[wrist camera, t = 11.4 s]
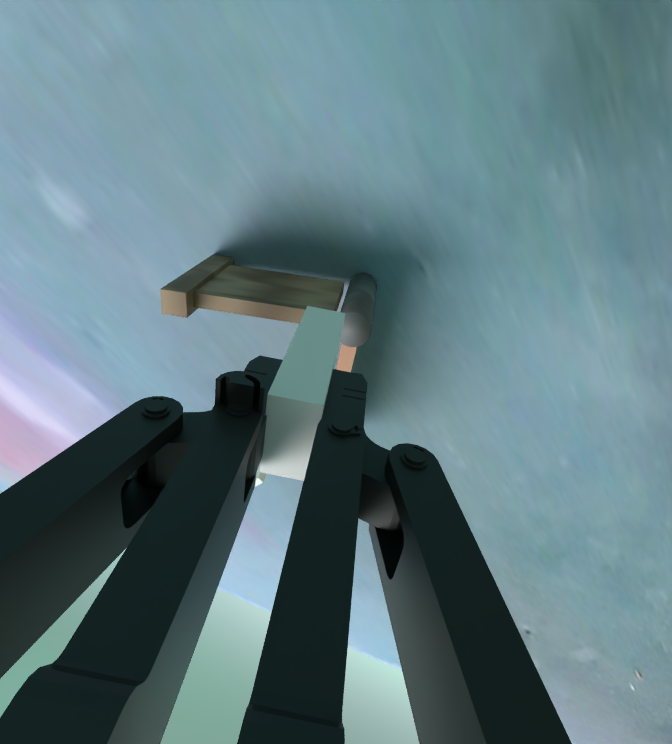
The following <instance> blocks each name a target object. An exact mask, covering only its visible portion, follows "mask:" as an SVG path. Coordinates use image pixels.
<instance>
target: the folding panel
mask: <svg viewBox="0 0 672 744" xmlns="http://www.w3.org/2000/svg"><path fill="white" fill-rule="evenodd" d="M356 349H357V347H348V346H345V345H344V344H342V346H341V350H340V354H339V359H338V363H337V368H336V370H341V371H347V372H351V369H352V365H353V361H354V357H355V353H356Z"/></svg>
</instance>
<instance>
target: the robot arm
mask: <svg viewBox="0 0 672 744" xmlns="http://www.w3.org/2000/svg"><path fill="white" fill-rule="evenodd" d="M344 317H345V313H342V312H337V311H332V310H327V309H321V308H316V307H311V306H307V308H306V310H305V312H304V315H303V317H302V319H301V321H300V323H299V326H298V328H297V330H296V332H295V335H294V337H293V339H292V341H291V343H290V346H289V348H288V350H287V352H286V355H285V357H284V359H283V360H280V359H275V358H269V357H264V356H258V357H256V358H255V359H253V360H251V361H250V362H249V363H248V365H247V367H246V368H245V371H233V372H227V373H224V374H222V375H220V376H219V377H218V378H217V379H216V390H215V405H214V407H213V409H212V410H210V411H206V412H183V407H182V405H181V404H180V403H179V402H178V401H176V400H174V399H173V398H168V397H164V396H153V397H148V398H144V399H141V400H139V401H137V402H135V403H134V404H132V405H131V406H129V407H128V408H126V409H125V410H123V411H122V412H120V413H119V414H117V415H116V416H114V417H113V418H112V419H110V420H109V421H107V422H106V423H104V424H103V425H101V426H100V427H98V428H97V429H95V430H94V431H92V432H91V433H89V434H88V435H86V436H85V437H83V438H82V439H81V440H79V441H78V442H76V443H75V444H73V445H72V446H70V447H69V448H67V449H66V450H64V451H63V452H61V453H60V454H58V455H57V456H55V457H54V458H52V459H51V460H50V461H48V462H47V463H45V464H44V465H42V466H41V467H39V468H38V469H36V470H35V471H33V472H32V473H30V474H29V475H27V476H26V477H24V478H23V479H21V480H20V481H19V482H17V483H16V484H14V485H13V486H11V487H10V488H8V489H7V490H5V491H4V492H2V493H1V494H0V678H1V677H2V676H3V675H4V674H5V673H6V672H7V671H8V670H9V669H10V668H11V667H12V666H13V665H14V663H16V662H17V660H19V659H20V658H21V657H22V655H23V654H24V653H25V652H26V651H27V650H28V649H29V648H30V647H31V646H32V645H33V644H34V643H35V642H36V641H37V640H38V639H39V638H40V637H41V636H42V635H43V633H45V632H46V631H47V629H48V628H49V627H50V626H51V625H52V624H53V623H54V622H55V621H56V620H57V619H58V618H59V617H60V616H61V615H62V614H63V613H64V612H65V611H66V610H67V609H68V608H69V607H70V606H71V605H72V604H73V603H74V602H75V600H76V599H77V598H78V597H79V596H80V595H81V594H82V593H83V592H84V591H85V590H86V589H87V588H88V587H89V586H90V585H91V584H92V583H93V582H94V581H95V580H96V579H97V578H98V577H99V575H100V574H102V572H103V571H104V570H105V569H106V568H107V567H108V566H109V565H110V564H111V563H112V562H113V561H114V560H115V559H116V558H117V557H118V556H119V555H120V554H121V553H122V552H123V551H124V550H125V549H126V548H127V549H126V550H125V552H124V554H123V555H122V557H121V558H120V560H119V562H118V563H117V565H116V567H115V568H114V570H113V572H112V573H111V575H110V576H109V578H108V579H107V581H106V583H105V584H104V586H103V588H102V589H101V591H100V592H99V594H98V596H97V598H96V599H95V601H94V602H93V604H92V605H91V607H90V609H89V610H88V612H87V614H86V615H85V617H84V619H83V620H82V622H81V624H80V625H79V627H78V628H77V630H76V632H75V633H74V635H73V636H72V638H71V640H70V641H69V643H68V644H67V646H66V648H65V649H64V651H63V652H62V654H61V655H60V656H59V658H58V659H57V660H56V661H55V662H53V663H52V664H49V665H46V666H43V667H40V668H38V669H37V670H36V671H35V672H34V673H33V674H31V675H30V676H29V677H28V679H27V680H26V681H25V683H24V684H23V685H22V687H21V688H20V689H19V691H18V692H17V693H16V695H15V696H14V698H13V699H12V701H11V703H10V704H9V706H8V707H7V709H6V710H5V712H4V713H3V715H2V716H1V718H0V744H160V742H161V740H162V737H163V734H164V731H165V729H166V726H167V723H168V721H169V718H170V715H171V713H172V710H173V707H174V704H175V702H176V699H177V696H178V693H179V690H180V688H181V685H182V683H183V680H184V677H185V674H186V671H187V669H188V666H189V663H190V661H191V658H192V655H193V653H194V650H195V647H196V644H197V642H198V639H199V636H200V634H201V631H202V628H203V626H204V623H205V620H206V617H207V614H208V612H209V609H210V606H211V604H212V601H213V598H214V596H215V593H216V590H217V587H218V585H219V582H220V579H221V577H222V574H223V571H224V568H225V566H226V563H227V560H228V558H229V555H230V552H231V549H232V547H233V544H234V541H235V539H236V536H237V533H238V530H239V528H240V525H241V522H242V519H243V517H244V514H245V511H246V509H247V506H248V503H249V500H250V498H251V495H252V492H253V490H254V487H255V482H256V472H257V469H258V467H259V464H260V472H262V473H267V474H272V475H277V476H282V477H287V478H292V479H297V480H302V481H304V482H303V486H302V491H301V495H300V499H299V503H298V507H297V511H296V515H295V519H294V523H293V527H292V531H291V536H290V540H289V544H288V548H287V552H286V556H285V560H284V564H283V568H282V572H281V576H280V581H279V585H278V589H277V593H276V597H275V601H274V605H273V609H272V613H271V617H270V621H269V626H268V630H267V634H266V638H265V642H264V646H263V650H262V654H261V658H260V662H259V666H258V671H257V675H256V679H255V683H254V687H253V691H252V695H251V698H250V702H249V705H248V707H247V709H246V712H245V716H244V719H243V723H242V727H241V731H240V735H239V739H238V743H237V744H344V742H345V739H344V727H343V724H342V705H343V693H344V681H345V669H346V657H347V646H348V634H349V622H350V610H351V598H352V586H353V574H354V562H355V550H356V538H357V526H358V518H359V519H361V520H363V521H365V522H367V523H369V532H370V536H371V540H372V545H373V549H374V553H375V557H376V561H377V566H378V570H379V574H380V578H381V583H382V587H383V591H384V595H385V599H386V604H387V608H388V612H389V616H390V621H391V625H392V629H393V633H394V637H395V642H396V646H397V650H398V654H399V659H400V663H401V667H402V671H403V675H404V680H405V684H406V688H407V692H408V697H409V701H410V705H411V709H412V713H413V718H414V722H415V726H416V730H417V734H418V739H419V743H420V744H572V743H571V741H570V739H569V737H568V735H567V733H566V731H565V728H564V726H563V724H562V722H561V720H560V718H559V716H558V714H557V712H556V709H555V707H554V705H553V703H552V701H551V699H550V697H549V695H548V693H547V690H546V688H545V686H544V684H543V682H542V680H541V678H540V676H539V674H538V671H537V669H536V667H535V665H534V663H533V661H532V659H531V657H530V654H529V652H528V650H527V648H526V646H525V644H524V642H523V640H522V638H521V635H520V633H519V631H518V629H517V627H516V625H515V623H514V621H513V619H512V616H511V614H510V612H509V610H508V608H507V606H506V604H505V602H504V600H503V597H502V595H501V593H500V591H499V589H498V587H497V585H496V583H495V580H494V578H493V576H492V574H491V572H490V570H489V568H488V566H487V564H486V561H485V559H484V557H483V555H482V553H481V551H480V549H479V547H478V545H477V542H476V540H475V538H474V536H473V534H472V532H471V530H470V528H469V526H468V523H467V521H466V519H465V517H464V515H463V513H462V511H461V509H460V506H459V504H458V502H457V500H456V498H455V496H454V494H453V492H452V490H451V487H450V485H449V483H448V481H447V479H446V477H445V475H444V473H443V471H442V468H441V466H440V464H439V462H438V460H437V459H436V458H435V456H434V455H433V454H432V453H431V452H429V451H428V450H427V449H425V448H423V447H420V446H418V445H414V444H408V443H406V444H398V445H396V446H394V447H392V449H391V450H390V451H389V450H387V449H385V448H382V447H380V446H378V445H377V444H375V443H374V442H372V441H371V440H370V439H369V438H368V437H367V436H366V434H365V431H364V415H365V403H366V392H367V382H366V380H365V379H364V377H363V376H362V374H357V373H352V372H347V371H341V370H336V369H335V365H336V360H337V355H338V349H339V344H340V339H341V333H342V328H343V323H344ZM260 461H261V462H260Z"/></svg>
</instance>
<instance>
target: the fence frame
mask: <svg viewBox="0 0 672 744" xmlns="http://www.w3.org/2000/svg"><path fill="white" fill-rule="evenodd" d="M343 288H344V282H341V281H334V280H328V279H321V278H314V277H307V276H301V275H294V274H287V273H280V272H274V271H267V270H260V269H253V268H247V267H240V266H233V257H226V256H220V255H212V256H210V257H209V258H207V259H206V260H204V261H203V262H201V263H199V264H198V265H196V266H195V267H193V268H192V269H190V270H189V271H187V272H186V273H184V274H183V275H181V276H180V277H178V278H177V279H175V280H174V281H172V282H170V283H169V284H167V285H166V286H164V287H163V288H161V289H160V292H161V305H162V314H166V315H173V316H179V317H186V318H187V317H188V316H190V315H191V314H192V313H193V312H194V311H195V310H196V309H198V308H202V309H209V310H215V311H222V312H228V313H235V314H241V315H248V316H254V317H261V318H267V319H274V320H280V321H287V322H293V323H300V321H301V319H302V317H303V315H304V312H305V310H306V308H307V306H311V307H316V308H321V309H327V310H332V311H337V309H338V306H339V303H340V300H341V297H342V294H343ZM376 290H377V284H376V281H375V279H374V278H373V277H372V276H371V275H369V274H365V273H361V274H357V275H355V276H354V277H353V278H352V279H351V281H350V284H349V287H348V290H347V293H346V296H345V299H344V302H343V305H342V308H341V312H342V313H345V317H344V323H343V328H342V333H341V339H340V342H341V343H342V344H344V345H345V346H348V347H359V346H362V345H363V344H365V343H366V342H367V341H368V339H369V337H370V333H371V326H372V319H373V312H374V304H375V297H376Z"/></svg>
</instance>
